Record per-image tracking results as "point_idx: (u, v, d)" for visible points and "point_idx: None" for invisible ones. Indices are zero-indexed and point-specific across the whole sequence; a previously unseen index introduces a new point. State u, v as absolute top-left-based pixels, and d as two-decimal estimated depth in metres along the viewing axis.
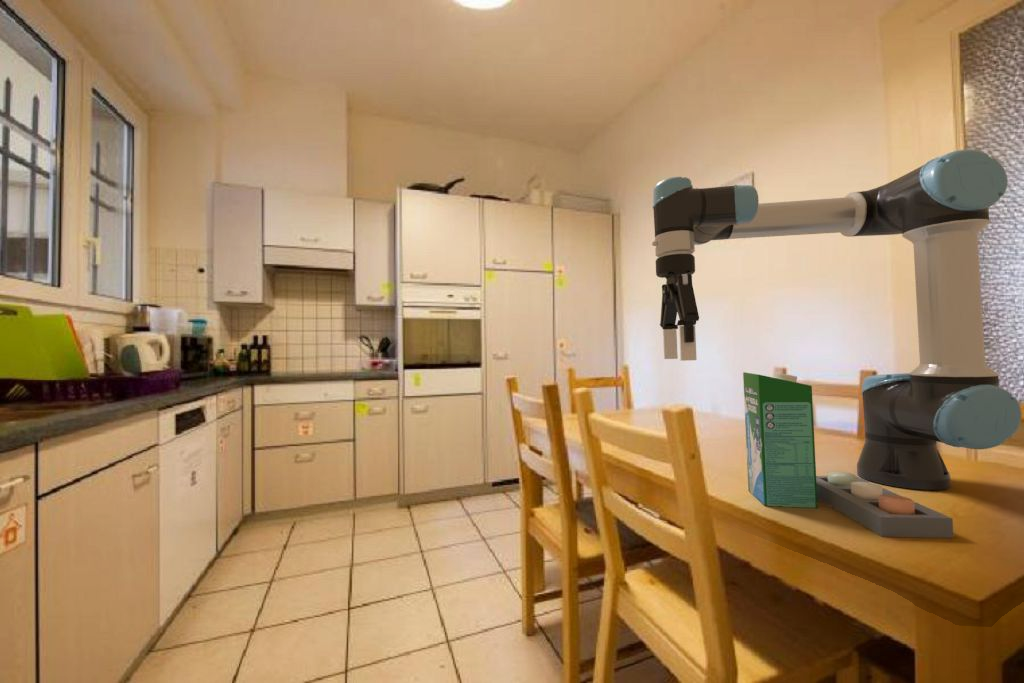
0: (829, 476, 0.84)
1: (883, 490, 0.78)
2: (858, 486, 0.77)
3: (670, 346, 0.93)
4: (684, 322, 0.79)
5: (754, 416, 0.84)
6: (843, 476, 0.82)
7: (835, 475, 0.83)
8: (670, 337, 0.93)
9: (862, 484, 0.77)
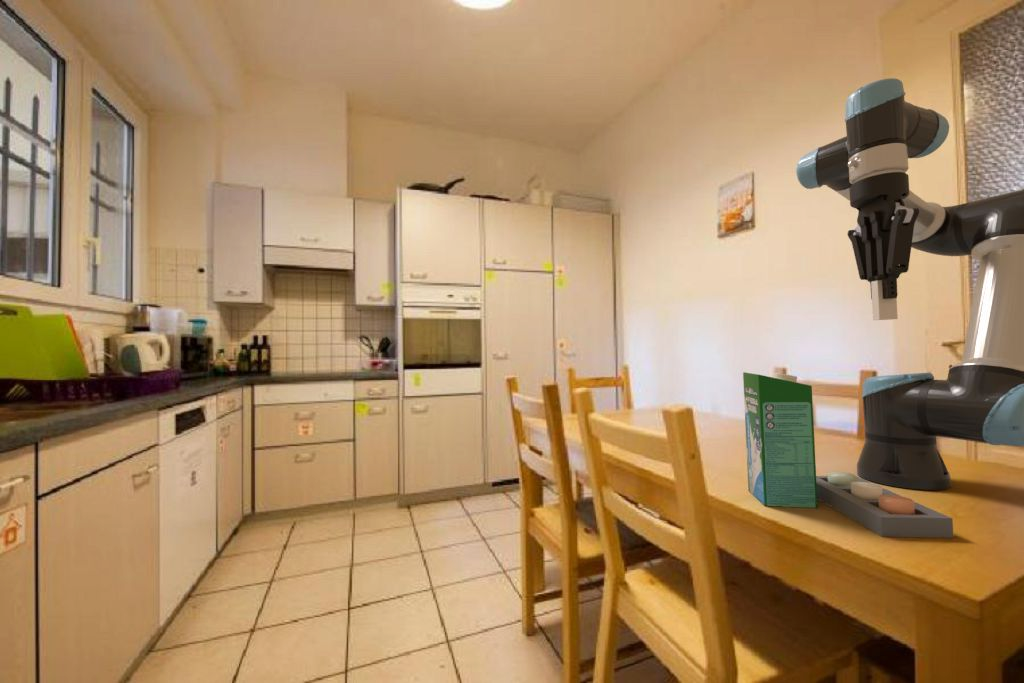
0: (829, 476, 0.84)
1: (883, 490, 0.78)
2: (858, 486, 0.77)
3: None
4: (885, 275, 0.69)
5: (754, 416, 0.84)
6: (843, 476, 0.82)
7: (835, 475, 0.83)
8: None
9: (862, 484, 0.77)
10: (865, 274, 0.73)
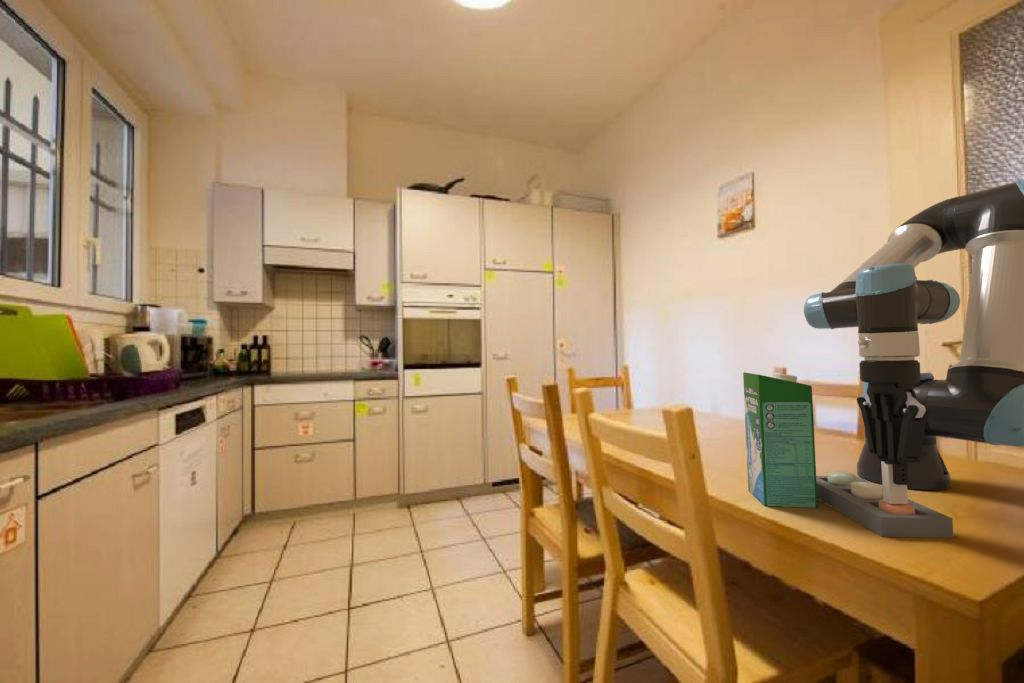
0: (829, 476, 0.84)
1: None
2: (858, 486, 0.77)
3: None
4: (896, 461, 0.68)
5: (754, 416, 0.84)
6: (843, 476, 0.82)
7: (835, 475, 0.83)
8: None
9: (862, 484, 0.77)
10: (875, 449, 0.73)
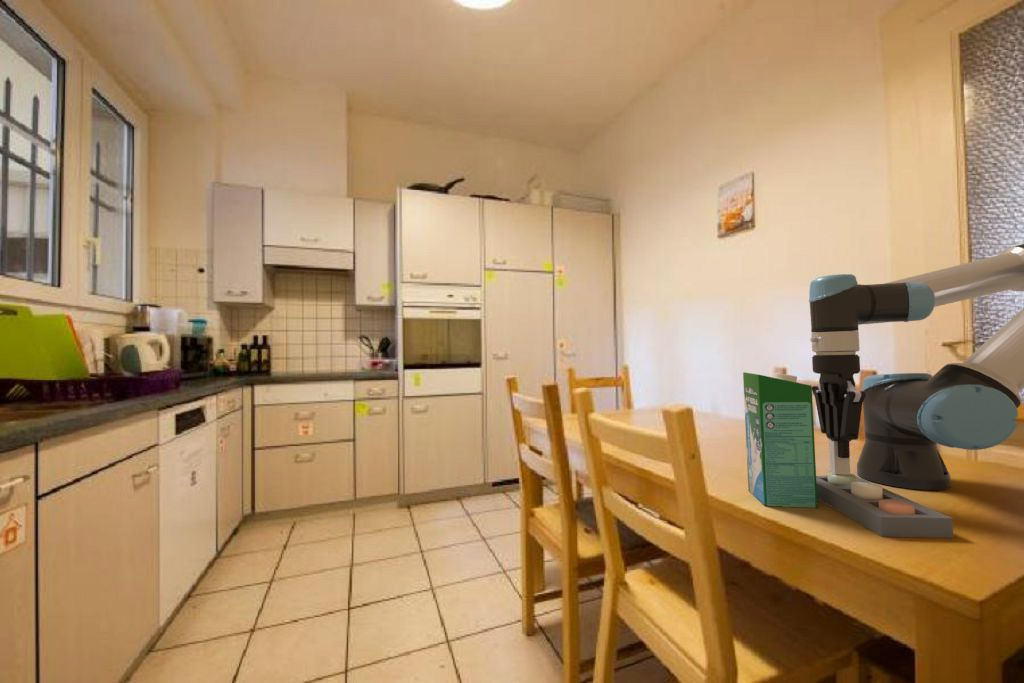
0: (829, 476, 0.84)
1: (883, 490, 0.78)
2: (858, 486, 0.77)
3: None
4: (840, 439, 0.82)
5: (754, 416, 0.84)
6: (843, 476, 0.82)
7: (835, 475, 0.83)
8: None
9: (862, 484, 0.77)
10: (825, 429, 0.87)
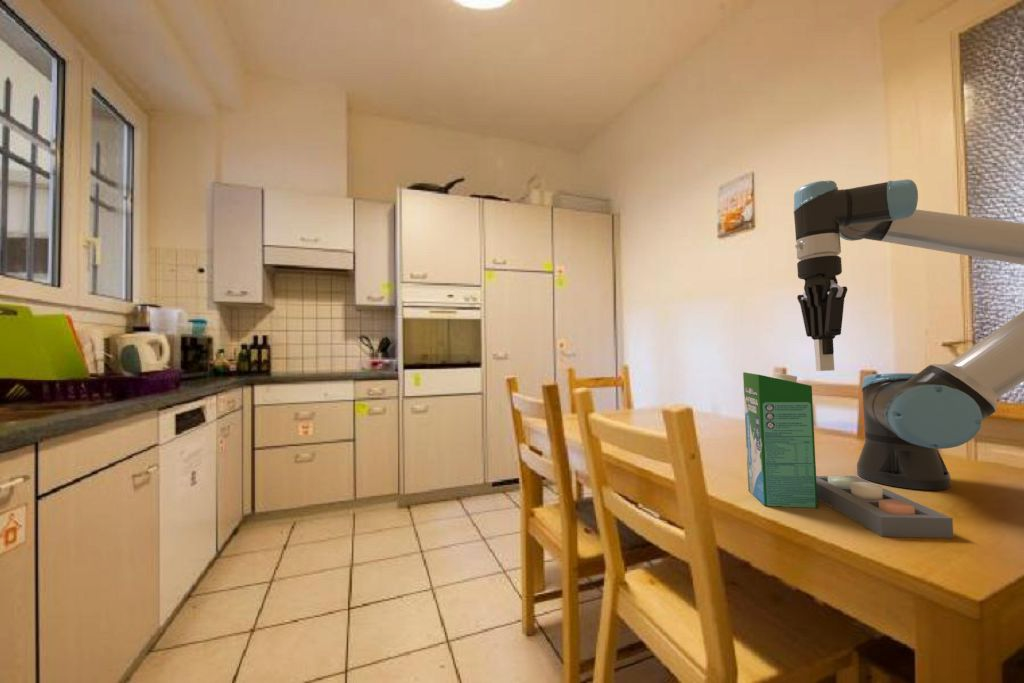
0: (829, 480, 0.84)
1: (883, 490, 0.78)
2: (858, 486, 0.77)
3: None
4: (824, 336, 0.87)
5: (754, 416, 0.84)
6: (843, 480, 0.82)
7: (835, 479, 0.83)
8: None
9: (862, 484, 0.77)
10: (810, 332, 0.92)
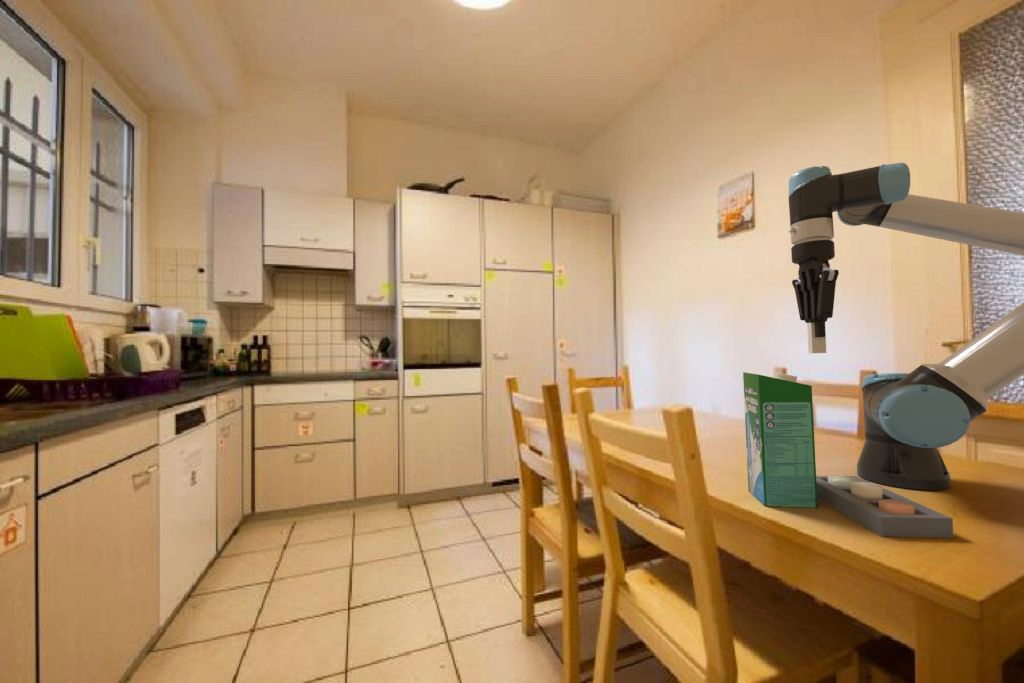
0: (829, 480, 0.84)
1: (883, 490, 0.78)
2: (858, 486, 0.77)
3: None
4: (816, 319, 0.89)
5: (754, 416, 0.84)
6: (843, 480, 0.82)
7: (835, 479, 0.83)
8: None
9: (862, 484, 0.77)
10: (803, 316, 0.93)
